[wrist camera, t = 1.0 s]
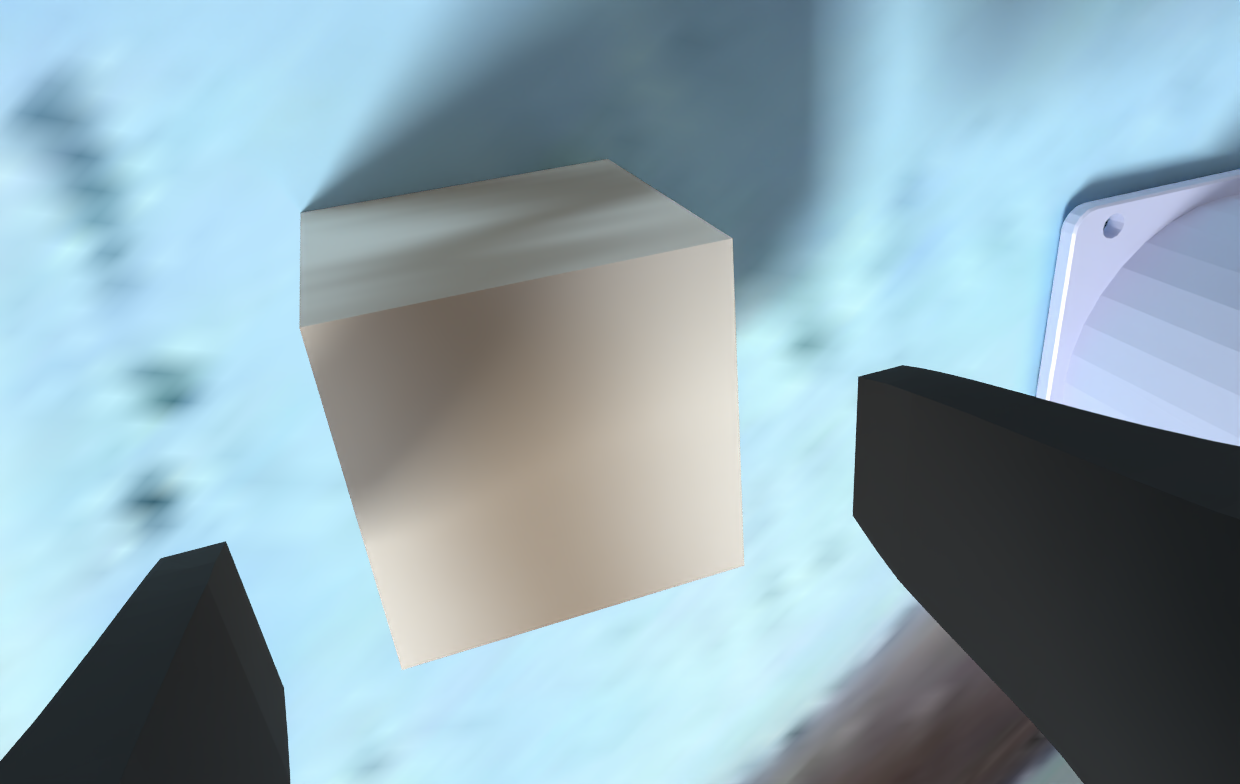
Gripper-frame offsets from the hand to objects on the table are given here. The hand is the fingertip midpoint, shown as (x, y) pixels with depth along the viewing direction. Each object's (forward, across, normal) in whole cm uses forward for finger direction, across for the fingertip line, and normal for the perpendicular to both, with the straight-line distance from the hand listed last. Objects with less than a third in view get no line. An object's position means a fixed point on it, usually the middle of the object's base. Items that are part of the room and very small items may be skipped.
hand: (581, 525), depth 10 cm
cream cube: (+6, 0, 0) cm, 6 cm away
